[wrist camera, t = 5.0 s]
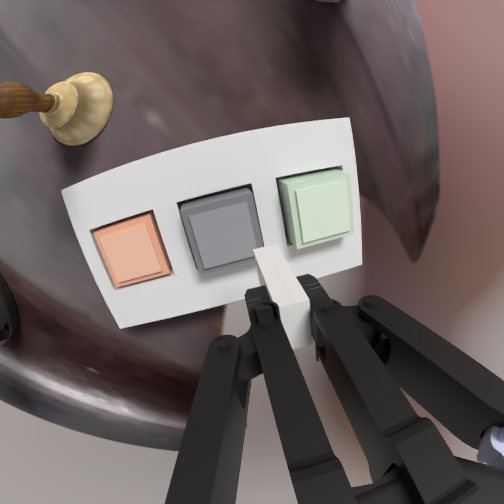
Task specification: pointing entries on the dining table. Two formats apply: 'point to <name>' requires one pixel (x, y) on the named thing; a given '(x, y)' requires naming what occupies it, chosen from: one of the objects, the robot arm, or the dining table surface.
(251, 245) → the charcoal key
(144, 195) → the white button panel
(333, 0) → the coffeepot
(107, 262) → the terracotta key
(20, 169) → the dining table surface
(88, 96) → the hand bell
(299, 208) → the sage key
